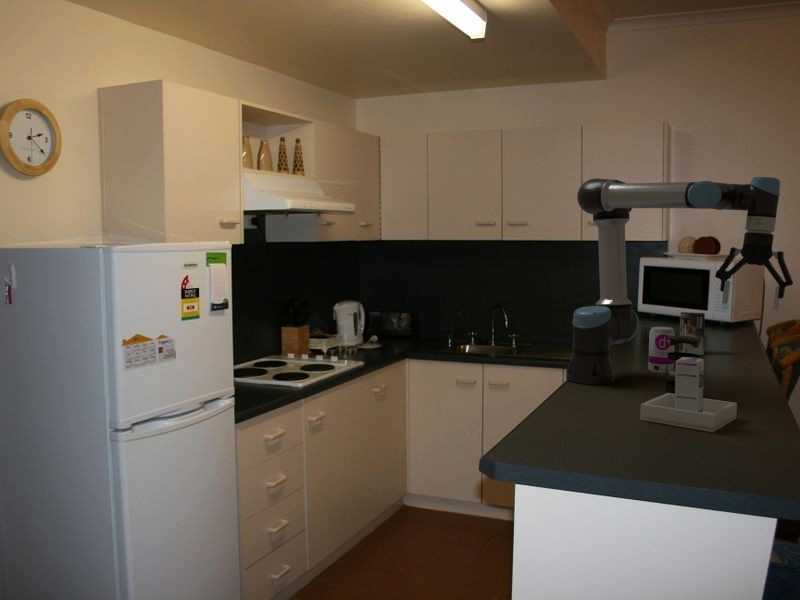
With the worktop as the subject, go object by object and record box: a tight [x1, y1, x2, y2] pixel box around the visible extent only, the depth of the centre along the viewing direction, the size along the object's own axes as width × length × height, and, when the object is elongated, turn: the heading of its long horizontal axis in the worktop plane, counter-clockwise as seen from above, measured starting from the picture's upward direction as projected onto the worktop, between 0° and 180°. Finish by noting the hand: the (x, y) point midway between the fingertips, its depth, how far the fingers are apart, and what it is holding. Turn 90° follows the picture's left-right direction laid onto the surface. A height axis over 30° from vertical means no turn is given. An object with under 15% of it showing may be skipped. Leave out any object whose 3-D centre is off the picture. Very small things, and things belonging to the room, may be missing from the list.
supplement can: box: [647, 326, 676, 374], centre depth 258 cm, size 8×8×15 cm
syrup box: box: [674, 357, 705, 413], centre depth 191 cm, size 6×6×14 cm
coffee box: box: [678, 311, 706, 356], centre depth 297 cm, size 9×6×16 cm
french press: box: [663, 317, 701, 395], centre depth 219 cm, size 12×9×23 cm
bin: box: [639, 393, 738, 433], centre depth 192 cm, size 18×18×4 cm
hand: (749, 306), depth 215 cm, fingers open, 13 cm apart
